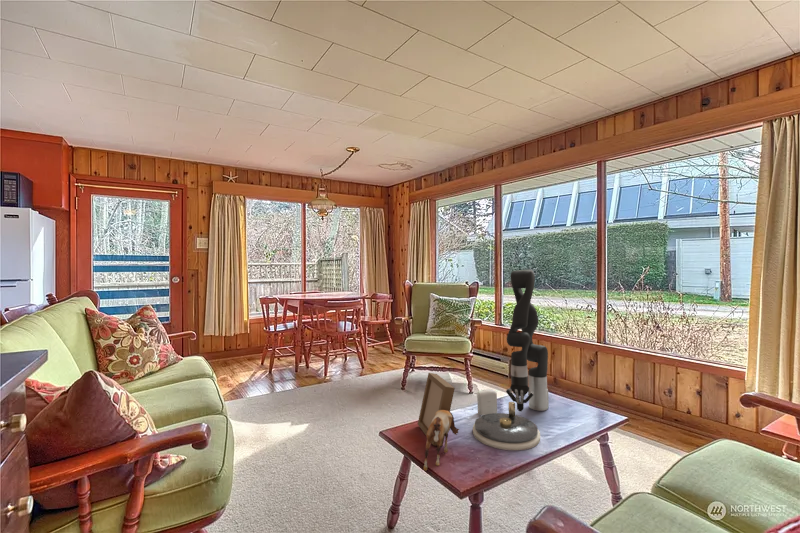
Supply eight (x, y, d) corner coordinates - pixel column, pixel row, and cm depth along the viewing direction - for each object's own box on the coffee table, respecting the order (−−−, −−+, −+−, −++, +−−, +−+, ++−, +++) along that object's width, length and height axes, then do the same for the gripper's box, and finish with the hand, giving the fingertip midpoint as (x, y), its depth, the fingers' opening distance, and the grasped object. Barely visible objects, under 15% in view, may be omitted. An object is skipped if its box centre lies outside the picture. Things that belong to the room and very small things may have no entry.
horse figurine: (434, 481, 131) (439, 424, 130) (414, 474, 134) (419, 418, 133) (458, 442, 159) (462, 395, 158) (441, 437, 162) (445, 391, 161)
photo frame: (433, 447, 154) (432, 387, 155) (417, 426, 175) (417, 373, 176) (465, 443, 158) (465, 384, 158) (446, 422, 179) (446, 371, 179)
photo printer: (480, 416, 186) (479, 391, 186) (476, 413, 190) (475, 389, 190) (498, 413, 188) (498, 389, 188) (494, 410, 192) (494, 387, 192)
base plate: (506, 416, 185) (505, 412, 185) (555, 439, 160) (554, 434, 160) (459, 429, 171) (459, 425, 171) (505, 457, 146) (505, 452, 146)
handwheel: (485, 412, 184) (485, 397, 184) (542, 423, 170) (542, 406, 170) (466, 434, 161) (466, 416, 161) (531, 448, 147) (530, 429, 147)
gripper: (535, 373, 174) (536, 410, 174) (506, 370, 180) (507, 405, 180) (533, 378, 168) (533, 416, 168) (503, 374, 174) (504, 411, 174)
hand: (520, 410), depth 174 cm, fingers closed
